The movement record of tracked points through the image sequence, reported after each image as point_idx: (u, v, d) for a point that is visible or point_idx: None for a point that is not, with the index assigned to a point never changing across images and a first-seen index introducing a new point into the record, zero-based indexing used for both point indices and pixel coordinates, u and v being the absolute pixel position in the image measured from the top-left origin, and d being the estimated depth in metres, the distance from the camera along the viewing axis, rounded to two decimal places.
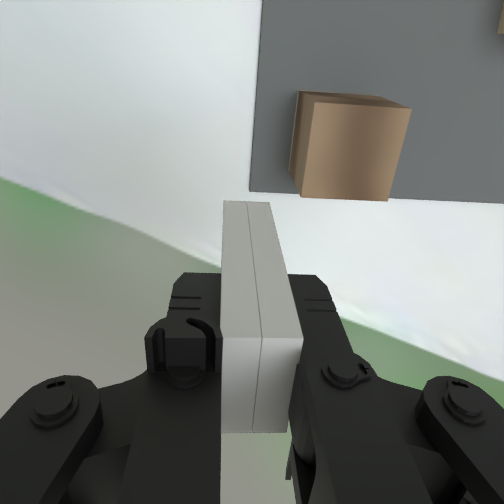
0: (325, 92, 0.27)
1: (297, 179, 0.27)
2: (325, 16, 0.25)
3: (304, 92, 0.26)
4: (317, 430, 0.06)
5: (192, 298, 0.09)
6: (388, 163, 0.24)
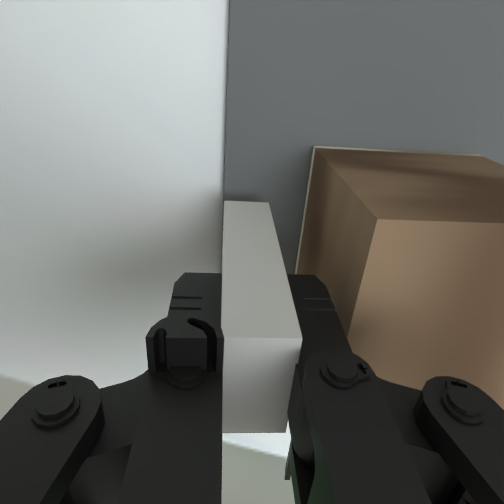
0: (372, 151, 0.13)
1: None
2: None
3: (330, 157, 0.12)
4: (316, 430, 0.06)
5: (193, 298, 0.09)
6: None
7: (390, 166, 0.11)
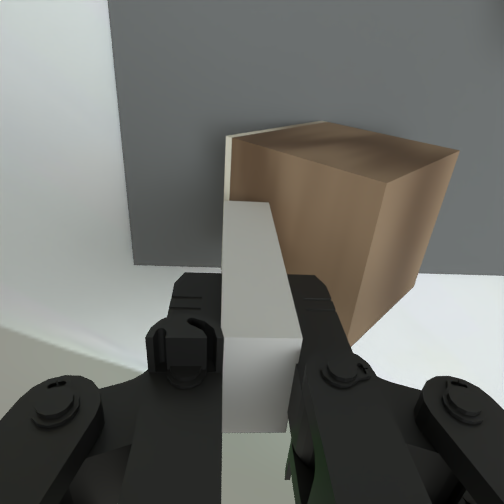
0: (271, 132, 0.14)
1: None
2: None
3: (260, 143, 0.12)
4: (316, 430, 0.06)
5: (193, 298, 0.09)
6: (426, 238, 0.15)
7: (306, 141, 0.13)
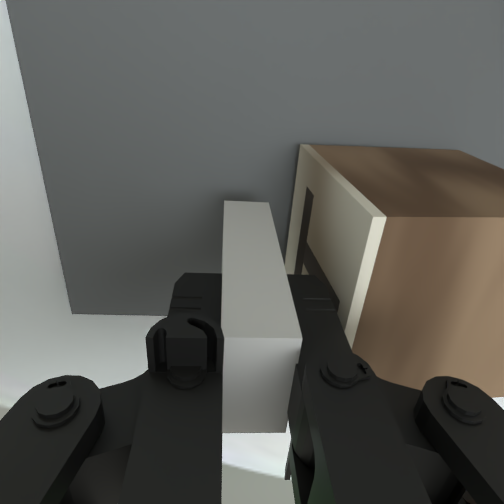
0: (357, 185, 0.09)
1: None
2: None
3: (431, 212, 0.08)
4: (316, 430, 0.06)
5: (193, 298, 0.09)
6: None
7: (418, 187, 0.10)
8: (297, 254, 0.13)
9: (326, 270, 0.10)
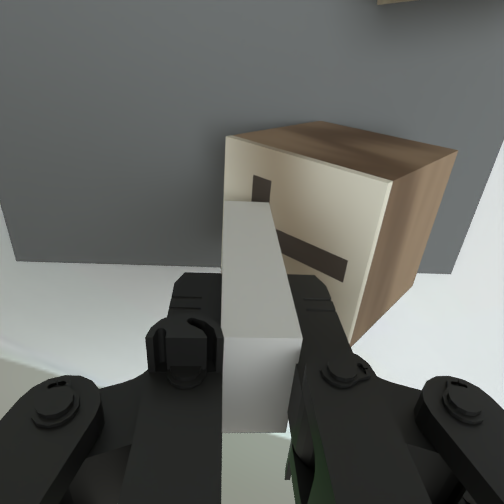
0: (332, 162, 0.11)
1: (397, 292, 0.15)
2: None
3: (402, 171, 0.11)
4: (316, 430, 0.06)
5: (193, 298, 0.09)
6: None
7: (360, 154, 0.12)
8: None
9: (316, 241, 0.12)
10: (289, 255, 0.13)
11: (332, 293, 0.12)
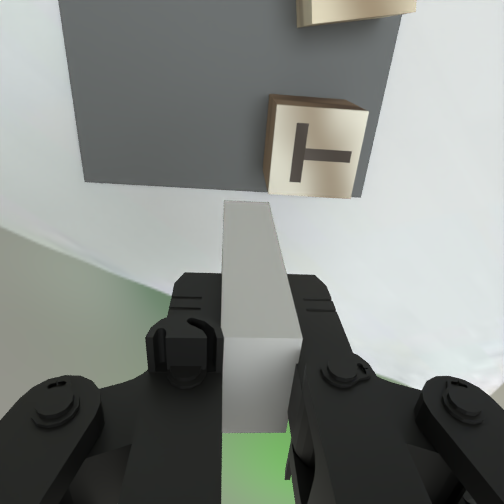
0: (338, 108, 0.25)
1: None
2: (122, 10, 0.26)
3: (359, 107, 0.26)
4: (316, 430, 0.06)
5: (193, 298, 0.09)
6: None
7: (333, 104, 0.26)
8: (293, 160, 0.26)
9: (335, 147, 0.25)
10: (320, 160, 0.26)
11: (344, 170, 0.26)
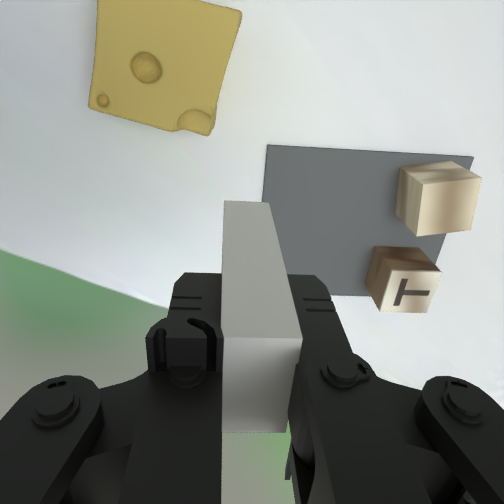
0: (424, 269, 0.44)
1: None
2: (297, 208, 0.45)
3: (434, 265, 0.45)
4: (316, 430, 0.06)
5: (193, 298, 0.09)
6: None
7: (418, 262, 0.45)
8: (396, 295, 0.45)
9: (421, 289, 0.45)
10: (411, 295, 0.45)
11: (424, 299, 0.46)
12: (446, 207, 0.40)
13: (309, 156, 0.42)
